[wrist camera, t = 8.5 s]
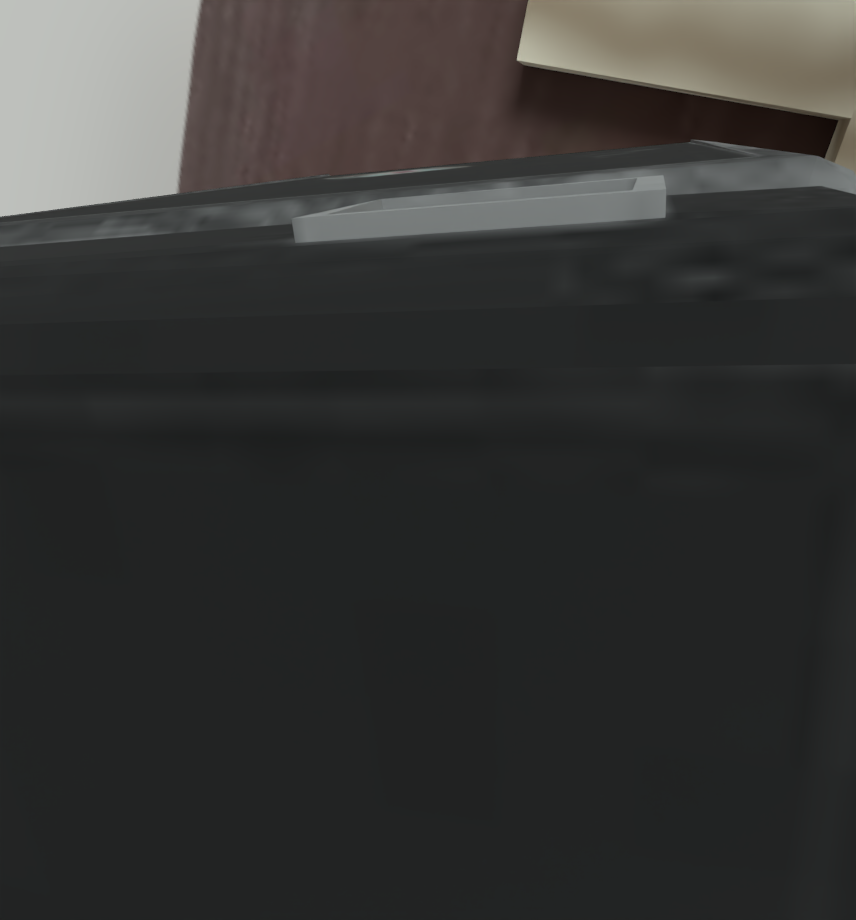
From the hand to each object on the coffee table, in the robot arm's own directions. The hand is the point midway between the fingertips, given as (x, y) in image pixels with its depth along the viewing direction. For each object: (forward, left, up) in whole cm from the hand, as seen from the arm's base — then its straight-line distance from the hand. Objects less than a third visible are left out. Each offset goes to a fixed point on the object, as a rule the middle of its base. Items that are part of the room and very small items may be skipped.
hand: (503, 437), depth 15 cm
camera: (0, 0, -3) cm, 3 cm away
